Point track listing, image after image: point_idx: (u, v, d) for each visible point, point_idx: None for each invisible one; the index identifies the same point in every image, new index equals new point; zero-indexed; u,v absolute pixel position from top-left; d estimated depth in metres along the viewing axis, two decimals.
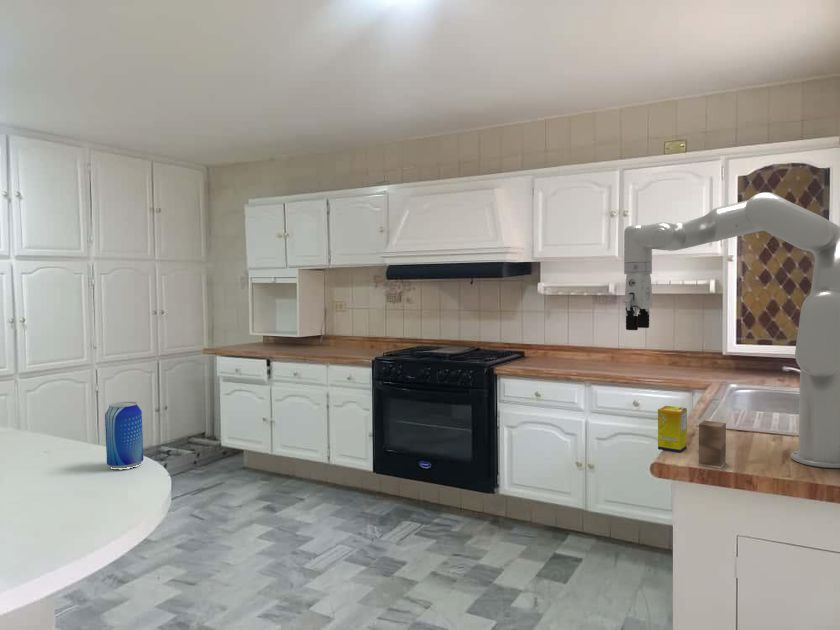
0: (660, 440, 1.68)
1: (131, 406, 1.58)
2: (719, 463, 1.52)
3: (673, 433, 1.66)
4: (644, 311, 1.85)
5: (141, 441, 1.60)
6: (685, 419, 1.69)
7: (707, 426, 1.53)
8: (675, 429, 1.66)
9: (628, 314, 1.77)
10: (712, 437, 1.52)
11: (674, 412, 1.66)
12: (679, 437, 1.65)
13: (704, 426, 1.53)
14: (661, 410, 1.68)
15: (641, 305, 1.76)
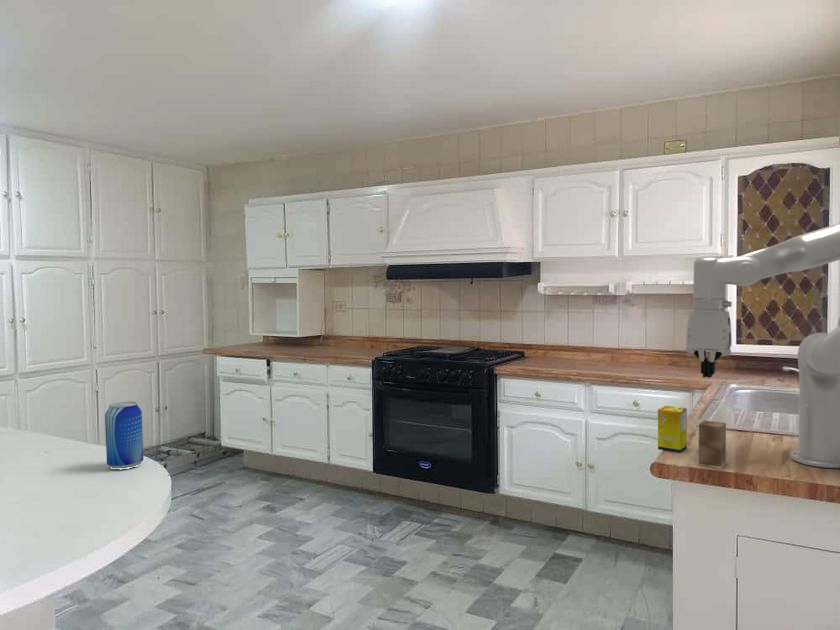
0: (660, 440, 1.68)
1: (131, 406, 1.58)
2: (719, 463, 1.52)
3: (673, 433, 1.66)
4: (706, 358, 1.63)
5: (141, 441, 1.60)
6: (685, 419, 1.69)
7: (707, 426, 1.53)
8: (675, 429, 1.66)
9: (715, 360, 1.61)
10: (712, 437, 1.52)
11: (674, 412, 1.66)
12: (679, 437, 1.65)
13: (704, 426, 1.53)
14: (661, 410, 1.68)
15: None
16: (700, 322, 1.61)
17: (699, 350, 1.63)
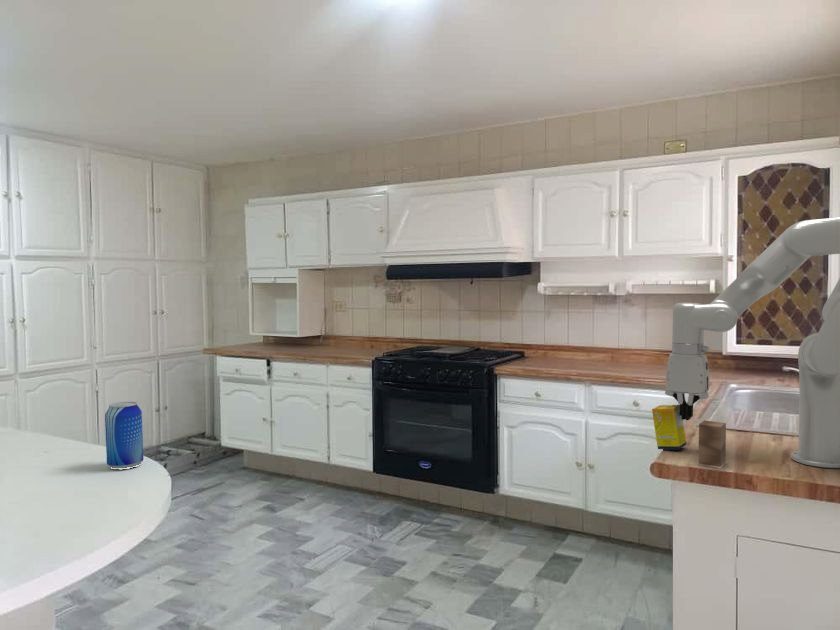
0: (659, 439, 1.69)
1: (131, 406, 1.58)
2: (719, 463, 1.52)
3: (670, 431, 1.67)
4: (684, 400, 1.67)
5: (141, 441, 1.60)
6: None
7: (707, 426, 1.53)
8: (672, 426, 1.66)
9: (693, 403, 1.65)
10: (712, 437, 1.52)
11: (668, 409, 1.67)
12: (676, 434, 1.66)
13: (704, 426, 1.53)
14: (655, 409, 1.69)
15: None
16: (679, 366, 1.65)
17: (678, 393, 1.66)
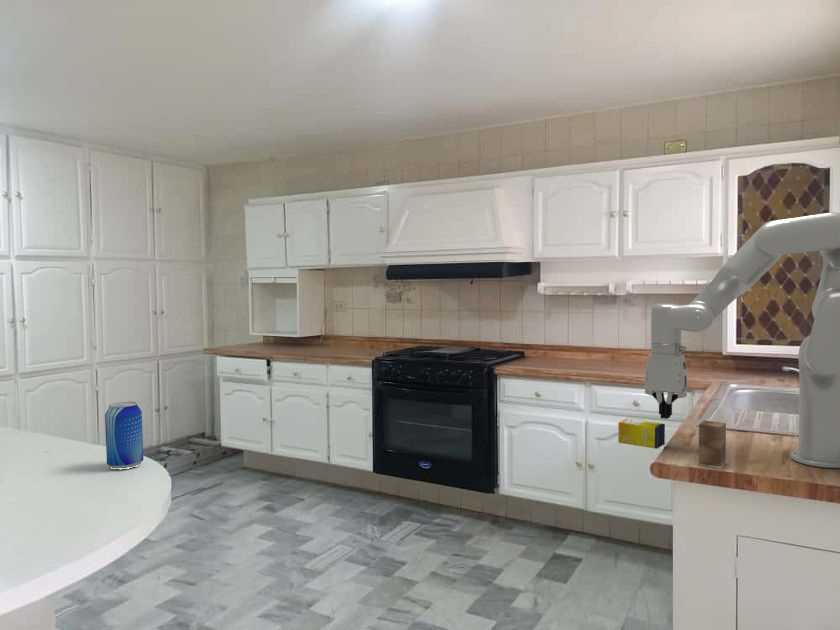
0: (648, 444, 1.71)
1: (131, 406, 1.58)
2: (719, 463, 1.52)
3: (639, 431, 1.72)
4: (663, 399, 1.70)
5: (141, 441, 1.60)
6: (634, 420, 1.77)
7: (707, 426, 1.53)
8: (635, 428, 1.72)
9: (672, 402, 1.68)
10: (712, 437, 1.52)
11: (619, 427, 1.75)
12: (643, 426, 1.71)
13: (704, 426, 1.53)
14: (619, 439, 1.76)
15: None
16: (657, 366, 1.68)
17: (657, 392, 1.70)
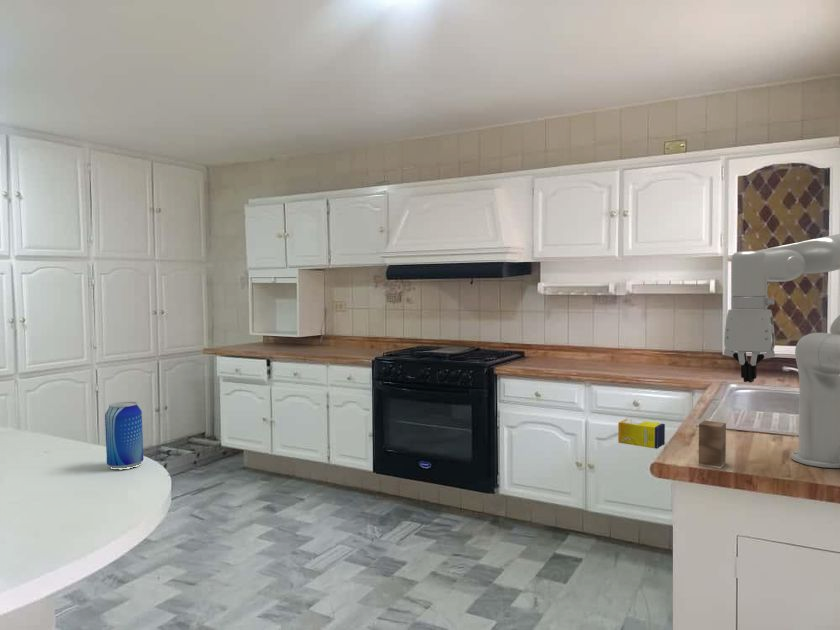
0: (648, 444, 1.71)
1: (131, 406, 1.58)
2: (719, 463, 1.52)
3: (639, 431, 1.72)
4: (746, 361, 1.50)
5: (141, 441, 1.60)
6: (634, 420, 1.77)
7: (707, 426, 1.53)
8: (635, 428, 1.72)
9: (757, 363, 1.48)
10: (712, 437, 1.52)
11: (619, 427, 1.75)
12: (643, 426, 1.71)
13: (704, 426, 1.53)
14: (619, 439, 1.76)
15: None
16: (740, 322, 1.48)
17: (739, 352, 1.49)
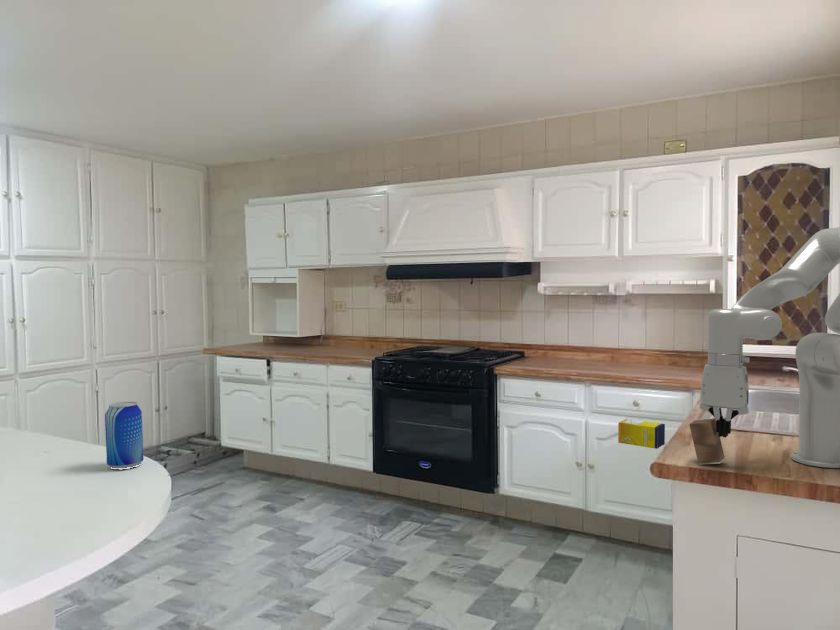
0: (648, 444, 1.71)
1: (131, 406, 1.58)
2: (717, 458, 1.52)
3: (639, 431, 1.72)
4: (721, 415, 1.53)
5: (141, 441, 1.60)
6: (634, 420, 1.77)
7: (697, 424, 1.54)
8: (635, 428, 1.72)
9: None
10: (705, 434, 1.53)
11: (619, 427, 1.75)
12: (643, 426, 1.71)
13: (694, 425, 1.55)
14: (619, 439, 1.76)
15: None
16: (716, 379, 1.51)
17: (714, 408, 1.53)
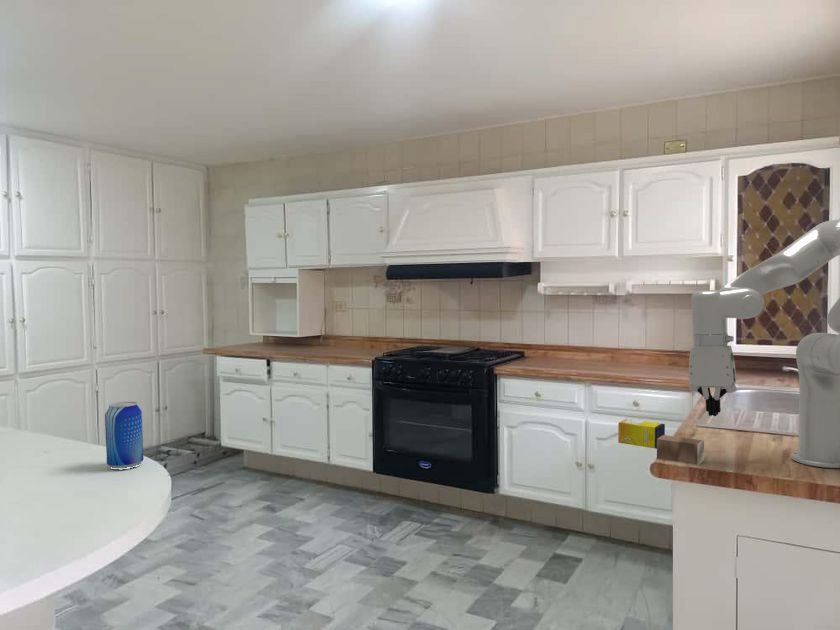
0: (648, 444, 1.71)
1: (131, 406, 1.58)
2: (694, 445, 1.55)
3: (639, 431, 1.72)
4: (710, 395, 1.56)
5: (141, 441, 1.60)
6: (634, 420, 1.77)
7: (658, 450, 1.60)
8: (635, 428, 1.72)
9: (720, 397, 1.54)
10: (668, 447, 1.59)
11: (619, 427, 1.75)
12: (643, 426, 1.71)
13: (658, 453, 1.60)
14: (619, 439, 1.76)
15: None
16: (702, 359, 1.54)
17: (703, 388, 1.56)
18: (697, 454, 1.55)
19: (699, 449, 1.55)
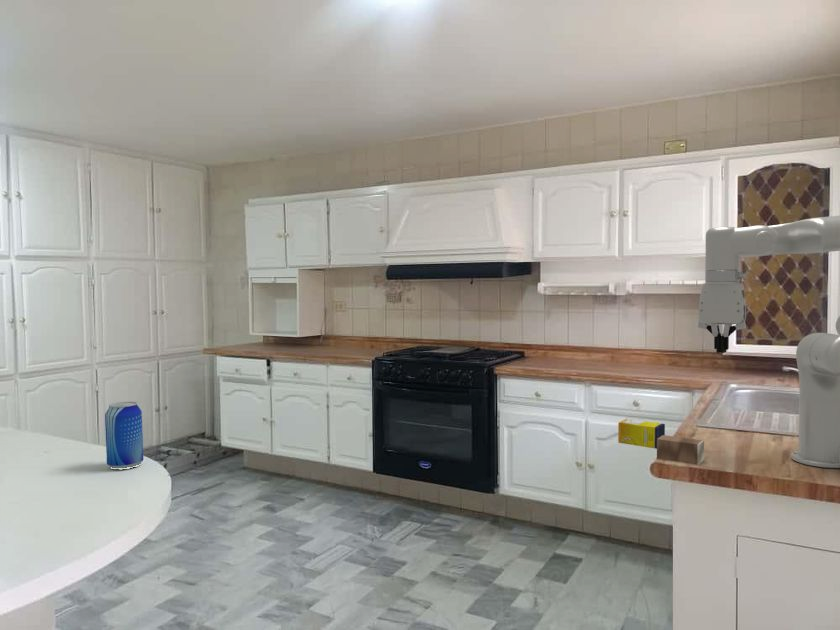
0: (648, 444, 1.71)
1: (131, 406, 1.58)
2: (694, 445, 1.55)
3: (639, 431, 1.72)
4: (719, 333, 1.56)
5: (141, 441, 1.60)
6: (634, 420, 1.77)
7: (658, 451, 1.60)
8: (635, 428, 1.72)
9: (729, 335, 1.54)
10: (668, 447, 1.59)
11: (619, 427, 1.75)
12: (643, 426, 1.71)
13: (658, 453, 1.60)
14: (619, 439, 1.76)
15: None
16: (713, 295, 1.54)
17: (712, 324, 1.56)
18: (697, 454, 1.55)
19: (699, 449, 1.55)
